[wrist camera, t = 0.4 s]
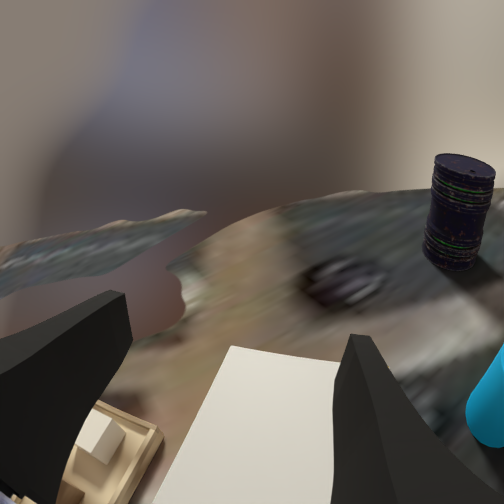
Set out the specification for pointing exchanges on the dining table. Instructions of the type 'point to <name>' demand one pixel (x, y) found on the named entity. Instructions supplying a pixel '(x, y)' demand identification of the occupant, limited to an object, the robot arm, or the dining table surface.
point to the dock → (259, 435)
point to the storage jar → (457, 210)
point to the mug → (488, 405)
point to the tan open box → (109, 465)
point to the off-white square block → (99, 436)
